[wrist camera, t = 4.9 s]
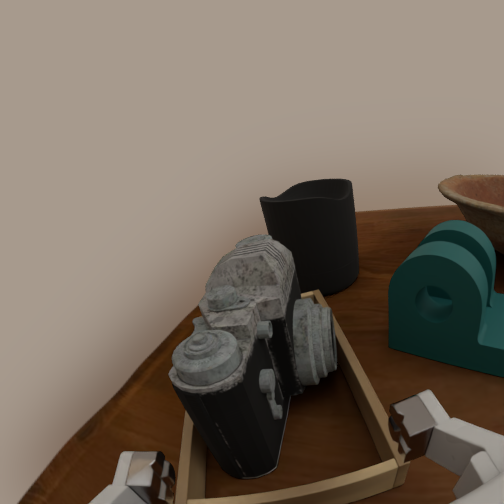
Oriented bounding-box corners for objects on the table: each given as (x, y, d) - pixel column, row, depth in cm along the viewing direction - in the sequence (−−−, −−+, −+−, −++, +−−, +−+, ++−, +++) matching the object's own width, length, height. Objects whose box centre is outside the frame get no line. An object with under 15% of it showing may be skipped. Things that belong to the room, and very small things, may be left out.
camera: (334, 481, 13) (309, 331, 9) (211, 476, 14) (128, 341, 11) (338, 323, 26) (318, 207, 23) (261, 331, 28) (230, 223, 25)
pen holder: (373, 288, 30) (363, 188, 27) (280, 307, 31) (258, 208, 28) (351, 254, 39) (339, 175, 35) (277, 269, 40) (259, 190, 36)
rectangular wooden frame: (193, 526, 11) (173, 509, 10) (207, 339, 28) (199, 316, 28) (403, 484, 11) (411, 461, 10) (322, 312, 28) (318, 289, 27)
